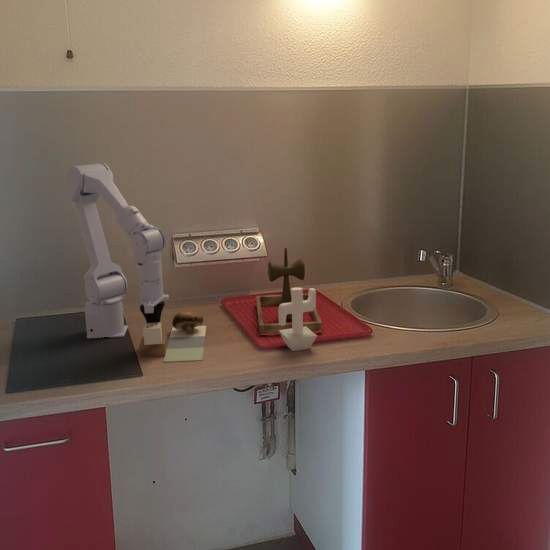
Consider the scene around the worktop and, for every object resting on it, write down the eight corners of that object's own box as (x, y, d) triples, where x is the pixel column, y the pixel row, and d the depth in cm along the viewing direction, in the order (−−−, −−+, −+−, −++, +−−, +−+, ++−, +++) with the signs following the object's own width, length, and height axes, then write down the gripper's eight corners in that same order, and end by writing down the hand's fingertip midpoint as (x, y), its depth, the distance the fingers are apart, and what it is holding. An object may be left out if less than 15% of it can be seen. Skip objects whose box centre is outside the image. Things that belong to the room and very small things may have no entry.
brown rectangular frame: (259, 335, 176) (259, 325, 176) (256, 305, 201) (256, 296, 201) (321, 333, 177) (321, 322, 176) (310, 302, 202) (310, 293, 201)
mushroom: (196, 327, 173) (191, 304, 176) (169, 337, 176) (164, 314, 178) (210, 332, 181) (206, 310, 183) (184, 341, 183) (180, 319, 185)
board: (163, 362, 161) (163, 361, 161) (172, 327, 184) (172, 327, 184) (202, 360, 161) (202, 359, 161) (206, 326, 184) (206, 325, 184)
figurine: (274, 344, 170) (273, 286, 166) (310, 339, 173) (309, 282, 169) (284, 355, 163) (283, 294, 159) (321, 349, 166) (321, 289, 162)
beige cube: (144, 344, 164) (143, 328, 162) (145, 338, 167) (144, 323, 166) (161, 343, 164) (160, 327, 163) (162, 337, 168) (161, 322, 167)
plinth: (140, 356, 164) (139, 345, 163) (143, 347, 170) (142, 336, 169) (165, 355, 165) (164, 344, 164) (167, 346, 170) (166, 335, 170)
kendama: (306, 320, 187) (305, 248, 182) (271, 323, 186) (269, 251, 180) (302, 313, 193) (301, 244, 188) (268, 316, 191) (266, 246, 186)
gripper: (164, 286, 159) (168, 341, 162) (169, 270, 173) (173, 321, 176) (133, 287, 158) (138, 343, 162) (141, 271, 172) (145, 323, 176)
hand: (154, 332), depth 169 cm, fingers closed
